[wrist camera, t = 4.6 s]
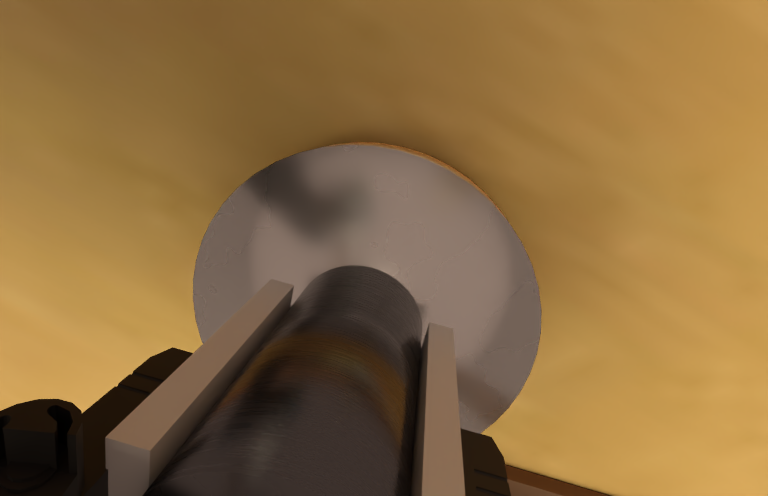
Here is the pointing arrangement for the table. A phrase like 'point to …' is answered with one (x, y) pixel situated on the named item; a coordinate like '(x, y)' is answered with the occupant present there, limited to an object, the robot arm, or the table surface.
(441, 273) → the lid
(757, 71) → the table surface
